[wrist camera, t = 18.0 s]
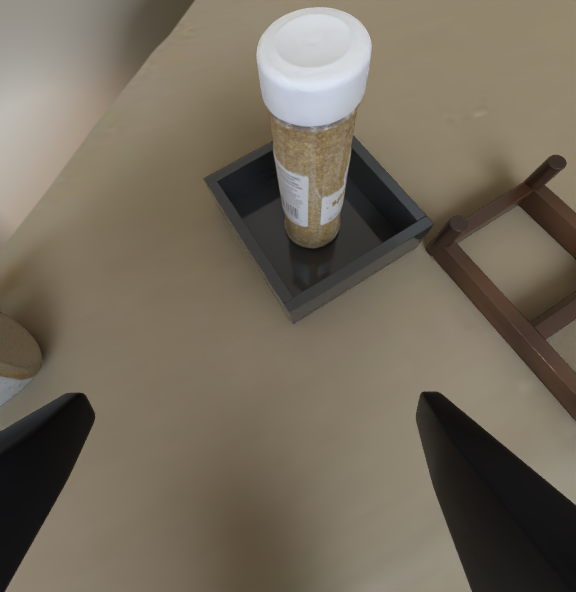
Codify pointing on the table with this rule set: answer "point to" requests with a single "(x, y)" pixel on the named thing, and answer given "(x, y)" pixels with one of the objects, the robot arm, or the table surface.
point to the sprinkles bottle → (313, 113)
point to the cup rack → (489, 299)
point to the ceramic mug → (16, 358)
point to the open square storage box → (333, 256)
